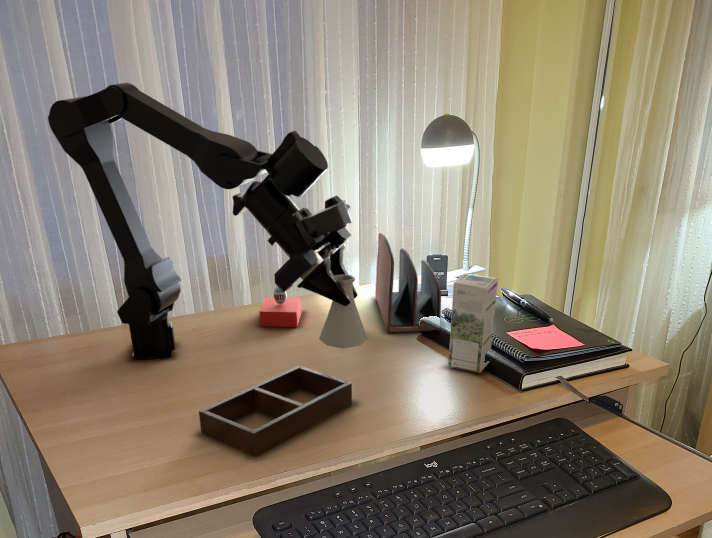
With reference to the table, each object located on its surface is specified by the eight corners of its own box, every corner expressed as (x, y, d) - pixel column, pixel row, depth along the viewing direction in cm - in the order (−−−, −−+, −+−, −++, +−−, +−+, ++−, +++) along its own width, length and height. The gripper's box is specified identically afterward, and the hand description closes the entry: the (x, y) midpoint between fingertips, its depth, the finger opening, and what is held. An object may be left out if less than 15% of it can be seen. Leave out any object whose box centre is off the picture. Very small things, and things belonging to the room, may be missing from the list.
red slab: (297, 326, 142) (295, 293, 139) (260, 326, 143) (258, 292, 139) (301, 312, 149) (300, 279, 146) (266, 311, 149) (264, 279, 146)
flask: (344, 353, 116) (344, 288, 110) (310, 340, 120) (309, 277, 114) (376, 341, 120) (377, 277, 115) (343, 329, 124) (343, 267, 119)
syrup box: (490, 361, 130) (499, 276, 122) (479, 374, 125) (487, 286, 117) (458, 356, 132) (465, 271, 124) (446, 368, 127) (452, 281, 119)
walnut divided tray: (201, 433, 107) (198, 411, 105) (299, 385, 121) (298, 365, 119) (255, 457, 102) (253, 433, 100) (352, 404, 115) (352, 383, 113)
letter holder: (386, 333, 140) (388, 255, 133) (375, 298, 157) (375, 227, 149) (440, 332, 141) (445, 254, 134) (423, 297, 158) (426, 226, 150)
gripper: (292, 193, 101) (370, 286, 104) (338, 168, 116) (405, 250, 119) (241, 248, 107) (317, 334, 110) (291, 218, 122) (357, 294, 125)
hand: (352, 301), depth 116 cm, fingers closed on flask, 3 cm apart
